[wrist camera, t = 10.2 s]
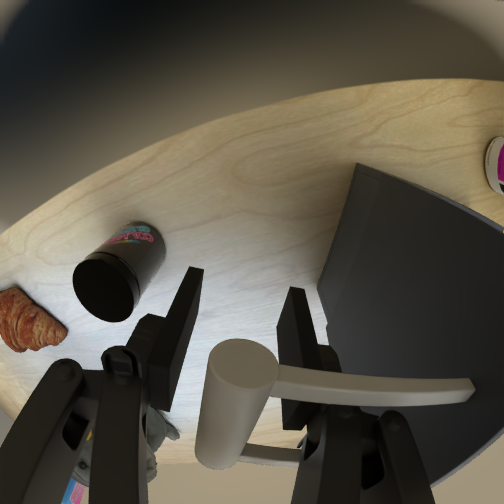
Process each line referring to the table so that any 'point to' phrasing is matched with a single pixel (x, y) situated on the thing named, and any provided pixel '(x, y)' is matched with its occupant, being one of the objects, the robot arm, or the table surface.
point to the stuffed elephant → (154, 440)
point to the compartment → (359, 232)
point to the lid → (387, 342)
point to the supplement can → (495, 165)
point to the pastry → (27, 323)
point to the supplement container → (119, 272)
